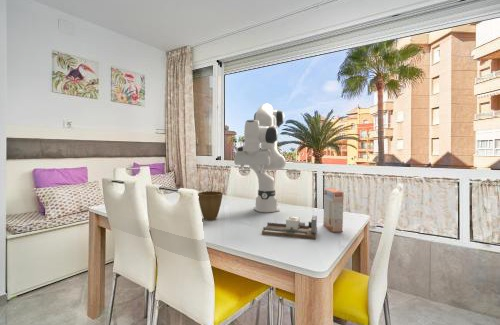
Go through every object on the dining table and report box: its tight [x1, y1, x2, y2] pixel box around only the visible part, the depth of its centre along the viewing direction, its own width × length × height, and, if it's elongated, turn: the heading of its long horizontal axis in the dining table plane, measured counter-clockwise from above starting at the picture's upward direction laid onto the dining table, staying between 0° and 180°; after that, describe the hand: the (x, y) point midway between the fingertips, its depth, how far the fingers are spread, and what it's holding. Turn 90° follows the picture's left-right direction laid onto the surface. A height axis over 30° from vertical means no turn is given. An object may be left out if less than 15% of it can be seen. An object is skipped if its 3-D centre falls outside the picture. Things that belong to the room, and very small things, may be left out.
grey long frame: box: [262, 215, 318, 235], centre depth 140 cm, size 10×26×7 cm, turn 73°
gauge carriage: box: [285, 216, 306, 230], centre depth 138 cm, size 10×9×6 cm
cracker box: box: [322, 188, 344, 233], centre depth 147 cm, size 14×6×21 cm, turn 3°
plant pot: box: [197, 190, 223, 221], centre depth 166 cm, size 15×15×16 cm
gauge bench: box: [261, 224, 318, 240], centre depth 141 cm, size 15×26×2 cm, turn 73°
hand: (252, 173), depth 154 cm, fingers open, 8 cm apart
